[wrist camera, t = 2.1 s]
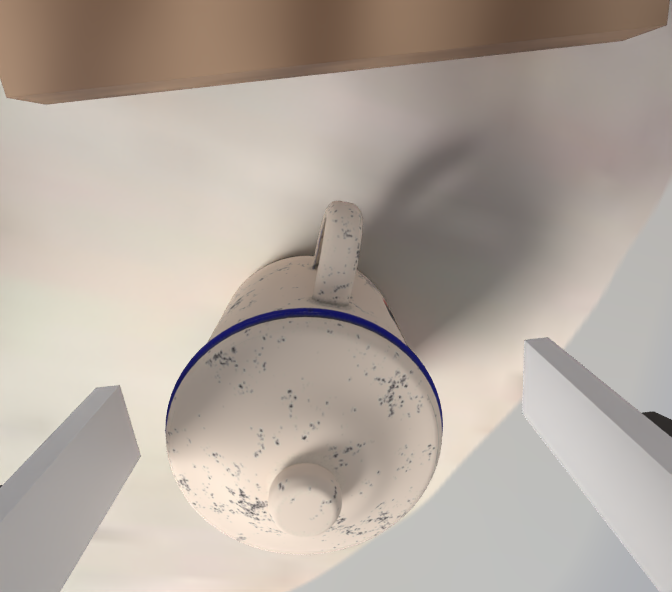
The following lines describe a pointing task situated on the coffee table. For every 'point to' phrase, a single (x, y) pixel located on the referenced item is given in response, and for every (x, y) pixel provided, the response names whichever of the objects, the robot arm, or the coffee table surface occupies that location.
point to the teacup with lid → (305, 407)
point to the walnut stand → (277, 39)
